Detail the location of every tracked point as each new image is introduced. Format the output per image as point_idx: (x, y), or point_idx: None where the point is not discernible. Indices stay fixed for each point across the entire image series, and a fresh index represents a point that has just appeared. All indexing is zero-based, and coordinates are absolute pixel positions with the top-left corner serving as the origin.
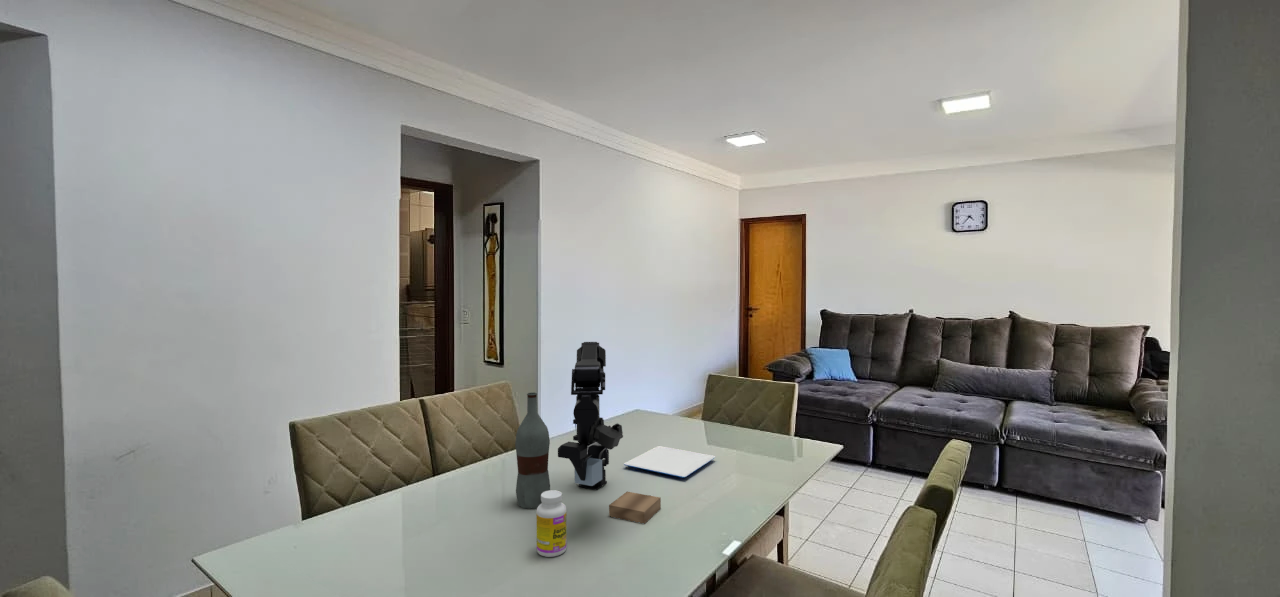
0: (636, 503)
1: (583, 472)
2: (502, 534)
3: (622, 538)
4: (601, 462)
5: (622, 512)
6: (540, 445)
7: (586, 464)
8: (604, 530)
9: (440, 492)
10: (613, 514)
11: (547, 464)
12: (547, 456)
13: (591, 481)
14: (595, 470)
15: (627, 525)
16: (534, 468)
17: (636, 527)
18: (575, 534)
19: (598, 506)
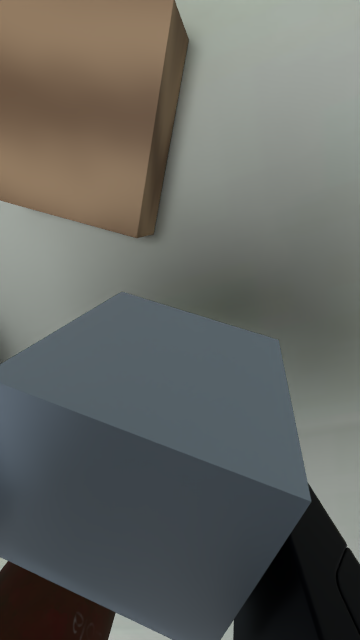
0: (83, 99)
1: (314, 502)
2: (329, 514)
3: (355, 105)
4: (28, 363)
5: (155, 165)
6: None
7: (318, 594)
8: (276, 218)
9: (127, 624)
10: (153, 214)
11: (30, 571)
12: (3, 624)
13: (281, 363)
14: (207, 384)
15: (216, 127)
16: (95, 615)
17: (230, 71)
18: (320, 320)
19: (86, 294)
